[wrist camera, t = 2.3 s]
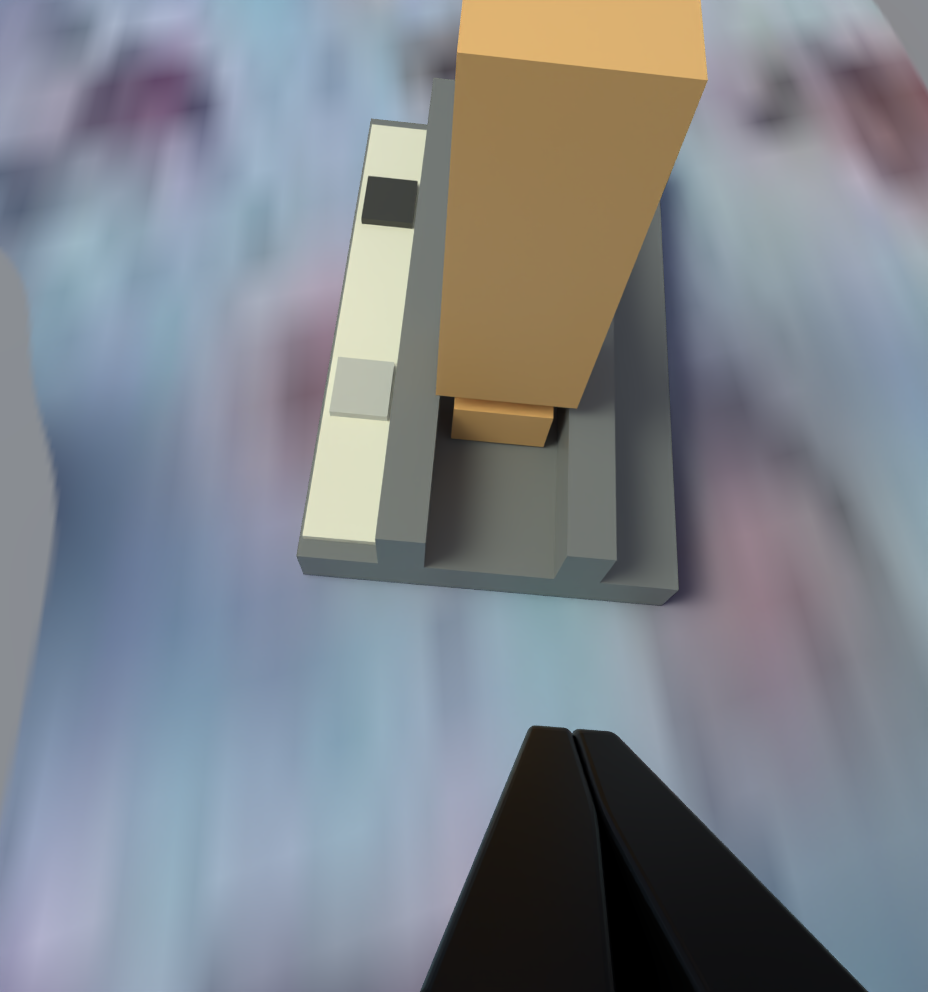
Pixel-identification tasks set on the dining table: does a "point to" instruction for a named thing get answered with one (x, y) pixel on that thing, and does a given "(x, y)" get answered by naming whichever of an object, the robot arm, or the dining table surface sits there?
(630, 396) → the switch housing
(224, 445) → the dining table surface
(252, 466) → the dining table surface
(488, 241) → the switch tab
